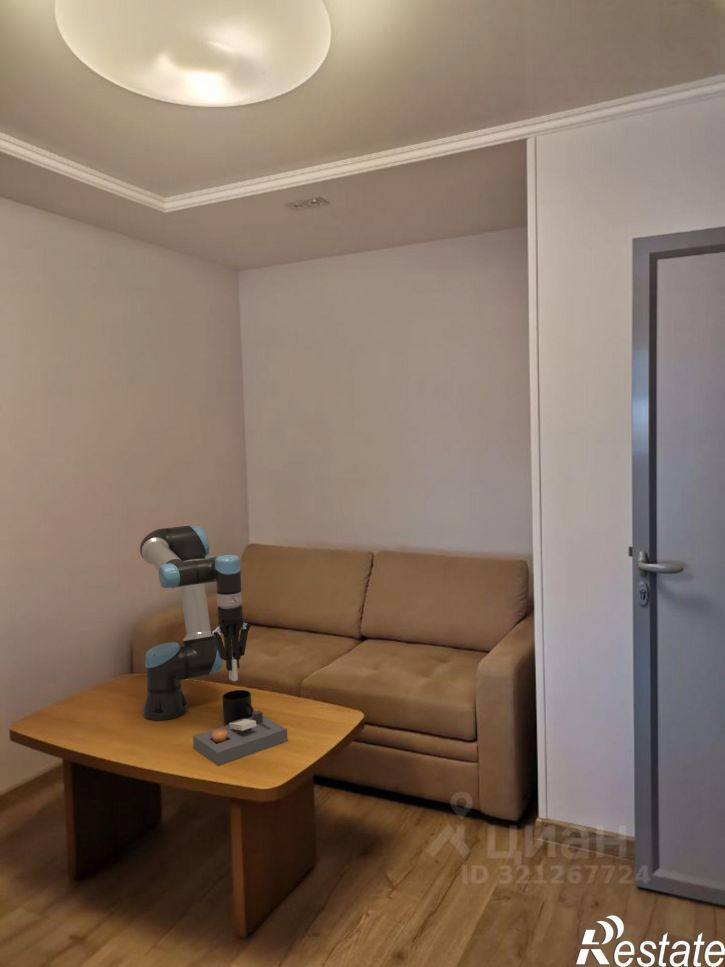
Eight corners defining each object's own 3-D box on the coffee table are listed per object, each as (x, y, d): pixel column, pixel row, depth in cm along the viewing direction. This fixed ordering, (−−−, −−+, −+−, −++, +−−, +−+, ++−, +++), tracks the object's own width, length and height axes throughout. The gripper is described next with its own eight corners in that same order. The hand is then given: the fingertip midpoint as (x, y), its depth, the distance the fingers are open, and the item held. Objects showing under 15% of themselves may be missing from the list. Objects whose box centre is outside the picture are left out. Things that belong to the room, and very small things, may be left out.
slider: (252, 721, 234) (252, 712, 234) (258, 719, 236) (258, 710, 236) (256, 723, 232) (255, 714, 232) (262, 721, 234) (262, 712, 234)
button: (210, 750, 223) (209, 731, 223) (223, 746, 226) (222, 727, 225) (217, 755, 220) (216, 736, 219) (230, 750, 222) (229, 732, 222)
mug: (244, 730, 238) (242, 703, 237) (217, 723, 245) (216, 696, 244) (263, 720, 246) (262, 694, 245) (237, 713, 252) (236, 688, 252)
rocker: (229, 728, 229) (229, 722, 229) (244, 723, 232) (243, 718, 232) (242, 730, 222) (241, 725, 223) (256, 726, 226) (255, 720, 226)
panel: (193, 748, 226) (192, 732, 225) (260, 726, 241) (260, 711, 240) (218, 765, 213) (217, 748, 213) (287, 741, 228) (286, 725, 228)
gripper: (216, 611, 220) (220, 688, 222) (254, 603, 228) (257, 677, 230) (205, 607, 225) (208, 681, 228) (242, 599, 234) (245, 671, 236)
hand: (233, 679), depth 229 cm, fingers closed
